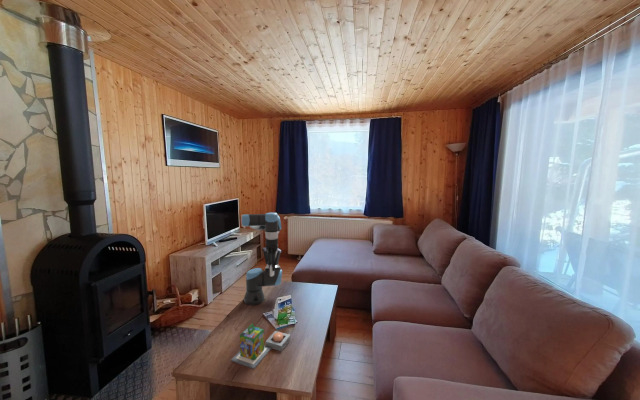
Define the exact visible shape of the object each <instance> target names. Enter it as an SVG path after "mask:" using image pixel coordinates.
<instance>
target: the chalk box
mask: <svg viewBox="0 0 640 400" xmlns="http://www.w3.org/2000/svg"><path fill="white" fill-rule="evenodd" d="M264 345H265V329H264V328H260V327H259V326H255V325H254V323H251V324H250V325H249V326H247V328H246V329H245V330H244V331H243V330H242V332H241V333H240V334H239V348H240V349H239V351H240V356H243V357H246V358H249V359H252V360H255V359H256V358H257V357H258V356H259V355H260V353H261V352H262V351H263V350H264Z"/></svg>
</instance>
